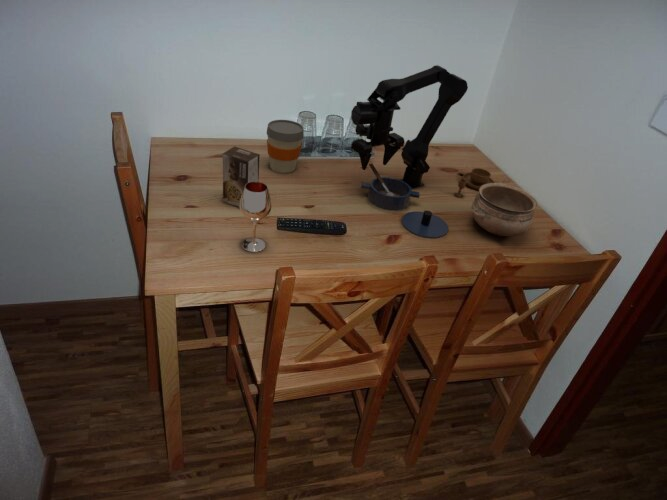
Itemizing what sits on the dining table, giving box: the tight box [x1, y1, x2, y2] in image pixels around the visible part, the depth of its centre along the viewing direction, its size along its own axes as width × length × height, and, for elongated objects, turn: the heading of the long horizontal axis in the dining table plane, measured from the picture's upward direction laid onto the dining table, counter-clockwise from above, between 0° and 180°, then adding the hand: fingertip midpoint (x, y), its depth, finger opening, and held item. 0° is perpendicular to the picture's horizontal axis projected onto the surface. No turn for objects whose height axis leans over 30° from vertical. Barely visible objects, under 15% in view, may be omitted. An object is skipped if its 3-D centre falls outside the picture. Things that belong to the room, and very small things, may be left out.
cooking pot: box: [470, 182, 538, 237], centre depth 159 cm, size 25×19×12 cm
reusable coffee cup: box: [266, 119, 305, 174], centre depth 175 cm, size 13×12×15 cm
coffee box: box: [222, 146, 261, 208], centre depth 152 cm, size 9×6×16 cm
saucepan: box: [361, 176, 420, 212], centre depth 167 cm, size 14×19×6 cm
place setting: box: [454, 167, 496, 198], centre depth 185 cm, size 18×20×6 cm
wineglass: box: [238, 181, 272, 253], centre depth 133 cm, size 8×8×18 cm
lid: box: [401, 210, 449, 239], centre depth 157 cm, size 15×15×5 cm
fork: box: [368, 163, 395, 196], centre depth 168 cm, size 15×2×8 cm, turn 38°
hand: (374, 167), depth 170 cm, fingers open, 9 cm apart
